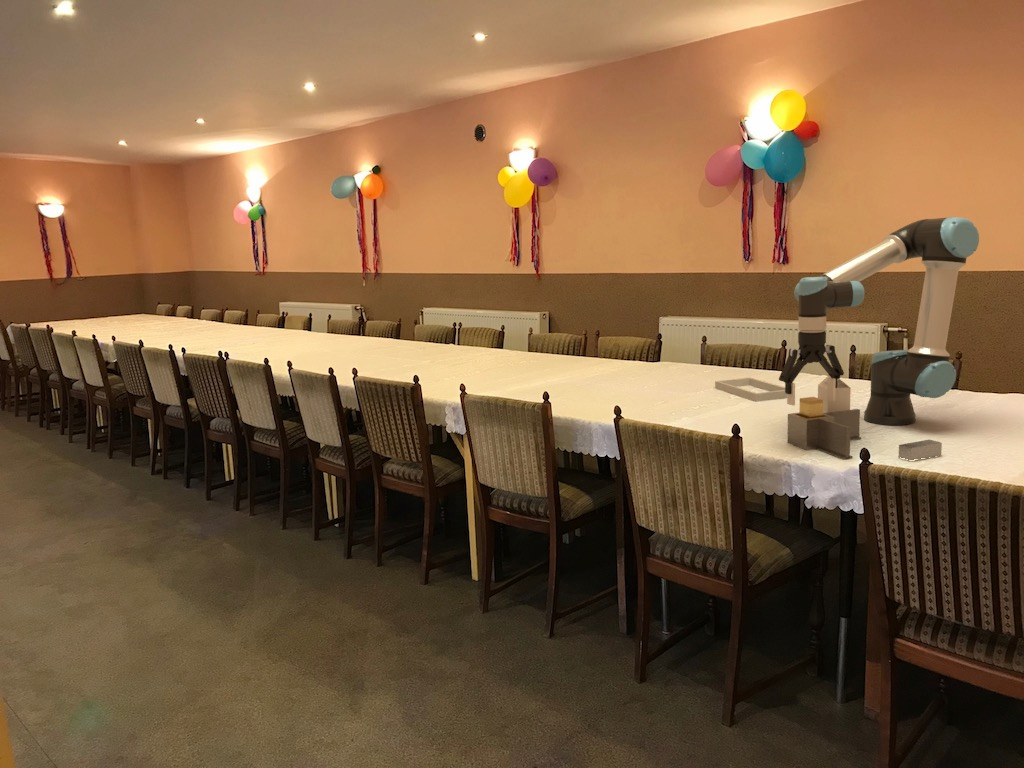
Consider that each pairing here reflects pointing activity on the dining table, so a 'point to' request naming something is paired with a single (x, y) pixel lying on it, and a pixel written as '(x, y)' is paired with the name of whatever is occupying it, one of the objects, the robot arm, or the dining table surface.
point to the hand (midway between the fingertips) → (811, 402)
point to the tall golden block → (811, 407)
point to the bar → (920, 449)
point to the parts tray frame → (732, 388)
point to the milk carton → (840, 396)
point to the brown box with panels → (825, 432)
